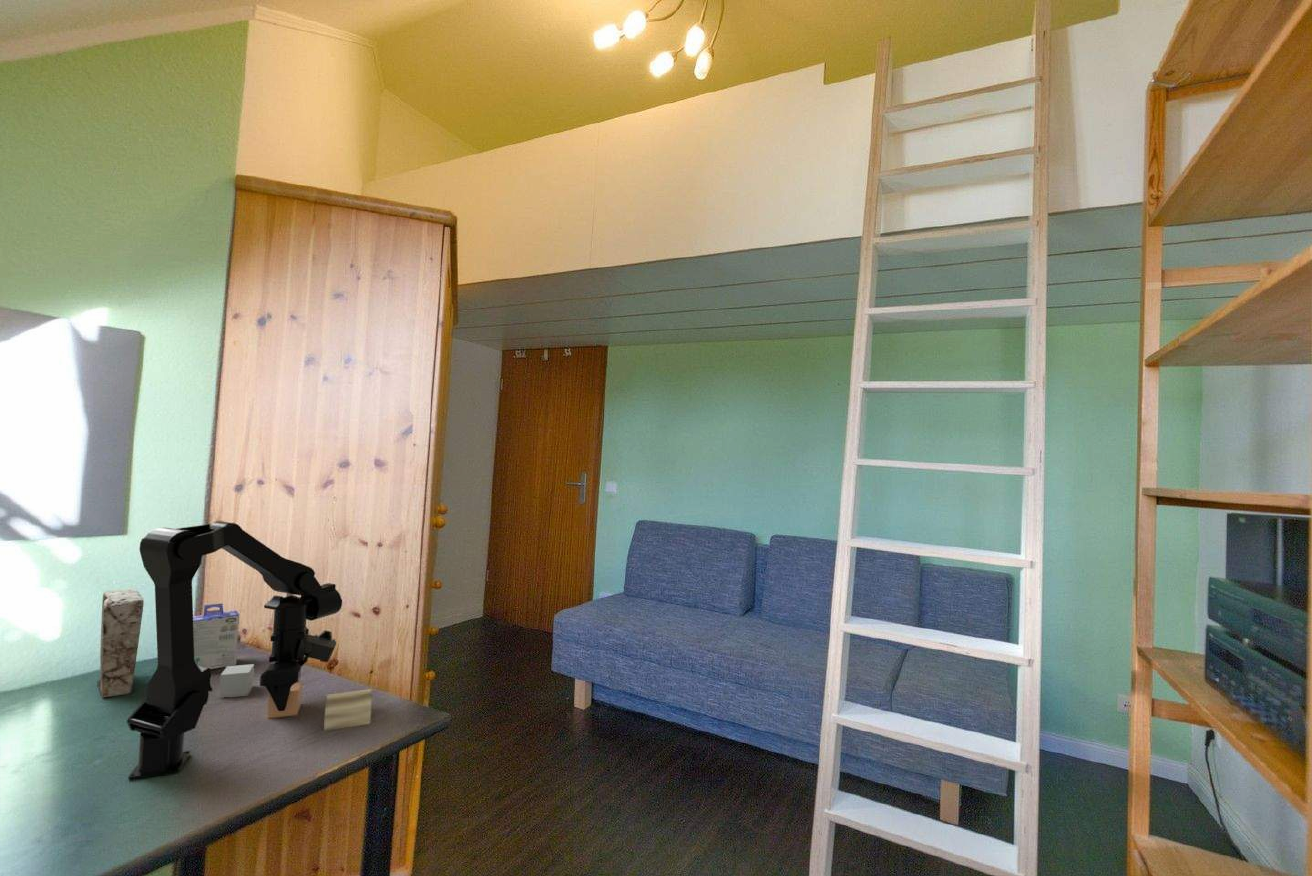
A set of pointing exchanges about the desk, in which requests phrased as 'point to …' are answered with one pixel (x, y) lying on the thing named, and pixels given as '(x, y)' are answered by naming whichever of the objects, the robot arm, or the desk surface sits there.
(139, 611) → the stone block
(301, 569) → the robot arm
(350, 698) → the birch block
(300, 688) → the tan cube
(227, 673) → the light grey cube
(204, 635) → the ink cartridge box
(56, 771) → the desk surface
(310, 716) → the desk surface
